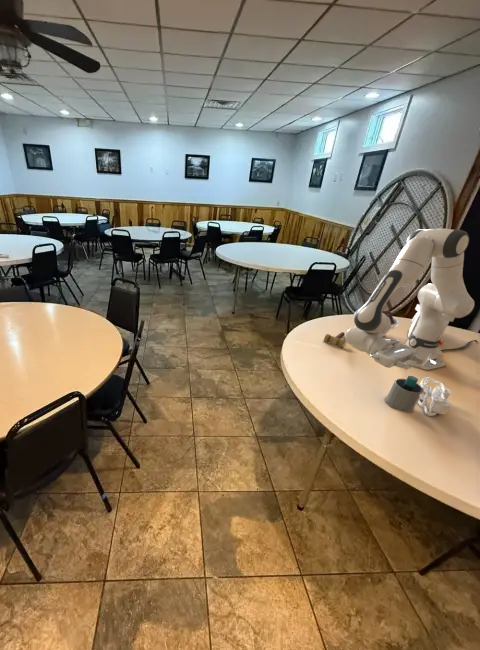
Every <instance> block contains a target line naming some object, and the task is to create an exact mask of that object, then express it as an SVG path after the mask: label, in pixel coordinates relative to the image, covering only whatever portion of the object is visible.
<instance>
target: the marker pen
mask: <svg viewBox="0 0 480 650" xmlns="http://www.w3.org/2000/svg"><path fill="white" fill-rule="evenodd" d="M418 381H419V379H418V378H417V377H416V376H413V375H408V376H406V381H405V384H404V386H403V387H402V388H403V389H405V390H408V391H411V392H412V390H413V388H414V387H415V385H416V383H417V384H418Z"/></svg>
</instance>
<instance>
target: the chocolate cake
mask: <svg viewBox="0 0 480 650" xmlns="http://www.w3.org/2000/svg"><path fill="white" fill-rule="evenodd" d="M358 310H359V309H357V310H356V311H355V312H354V313H353V316H354V317H355V314H356V313H357V311H358ZM382 313H384V314H385V315H387V316H388V317H389V318H390V320H391V326H390V328H389V330H388V331H387V332H386V333H385V335H386V334H388V333H389V332H390V331H392V330H394V329H396V328H397V327H398V326H399V325H400V321H399V319H398V318H397V317H395V316H393V314H392V312H391V310H384V309H383V310H382Z"/></svg>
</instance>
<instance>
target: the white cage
mask: <svg viewBox="0 0 480 650" xmlns="http://www.w3.org/2000/svg"><path fill="white" fill-rule="evenodd" d="M428 382H432V383H435V384H436V385H435V387H432V385H429V384H428ZM419 385H420V386H421V387H422V388H423V393H424V396H420V398H419V400H418V402H417V404H418V405H419V406H420V407H421V409H423V410H424V414H425V415H426V416H428V417H435V416H436V415H437V414H440V415H445V414H446V413H447V412H448V410H449V409H450V407H451V405H452V404H451V402H450V401H448V400H447V399H448V398H449V396H450V395H451V390H450V389H449V388H447V387H446V386H445V385H444V383H443V382H442V381H439V380H436V379H434V378H432V377H431V376H425V377H423V378H422V379H421V382H420V383H419ZM430 398H431V403H430V404H429V407H427V406H426V405H425V404H426V403H427V401H428V400H429V399H430ZM428 408H429V410H428Z"/></svg>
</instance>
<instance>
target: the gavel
mask: <svg viewBox="0 0 480 650" xmlns="http://www.w3.org/2000/svg"><path fill="white" fill-rule="evenodd" d="M344 336H346V333H345V332H344V331H342V332H340V333H338V334H337V335H335V336H333V335H331V334H329V333H326V334H325V335H324V338H323V342H325V343H329V344H332V345H335V346H337V347H338V348H343V347H344V345H345V342H346V339H344V338H343V337H344Z"/></svg>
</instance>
